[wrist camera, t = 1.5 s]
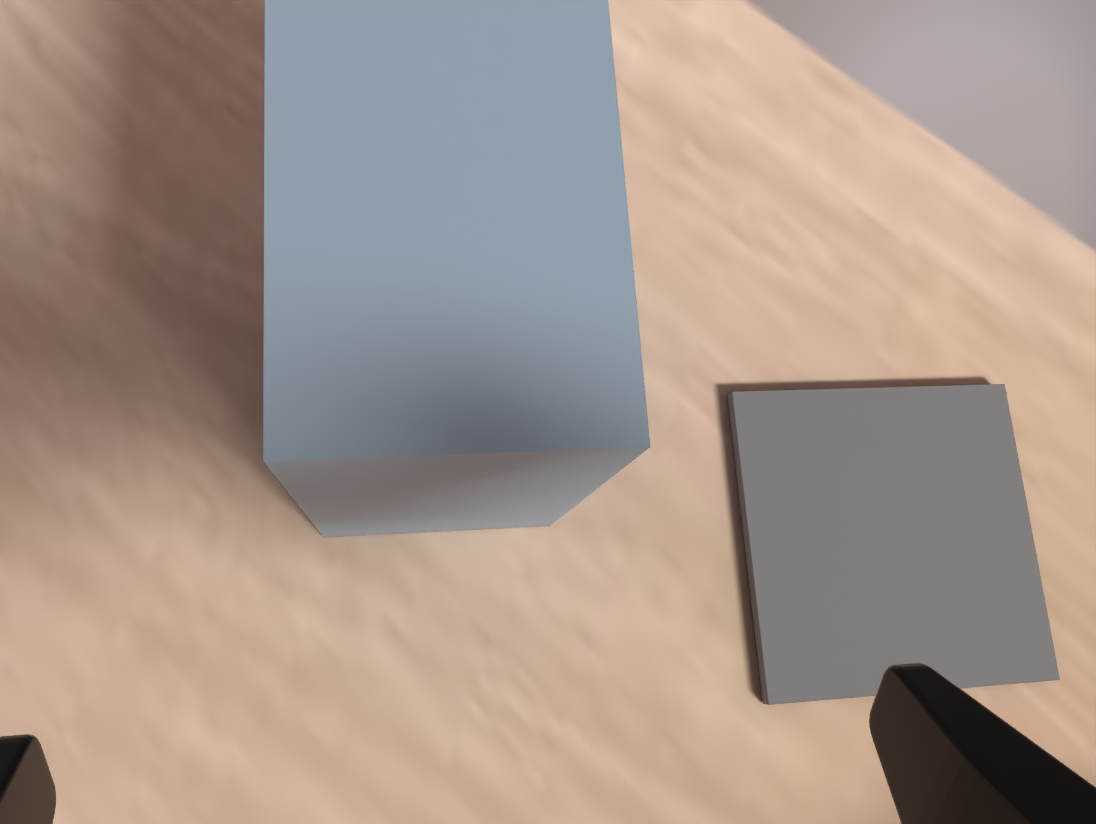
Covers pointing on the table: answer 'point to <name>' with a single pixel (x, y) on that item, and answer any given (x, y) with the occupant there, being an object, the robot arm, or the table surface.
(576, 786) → the table surface
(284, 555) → the table surface
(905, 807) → the robot arm
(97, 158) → the table surface
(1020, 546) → the pad
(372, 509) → the grey rectangular block
